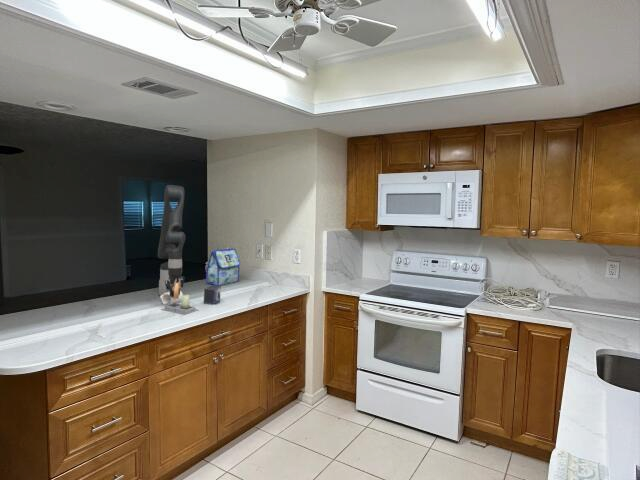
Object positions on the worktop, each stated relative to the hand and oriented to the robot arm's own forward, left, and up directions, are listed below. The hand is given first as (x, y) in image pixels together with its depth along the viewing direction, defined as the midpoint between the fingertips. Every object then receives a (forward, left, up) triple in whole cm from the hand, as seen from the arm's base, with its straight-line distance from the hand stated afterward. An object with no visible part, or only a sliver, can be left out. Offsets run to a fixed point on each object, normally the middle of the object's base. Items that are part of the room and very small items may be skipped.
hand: (174, 295), depth 230 cm
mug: (-13, +9, -9) cm, 18 cm away
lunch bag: (-23, +73, -9) cm, 77 cm away
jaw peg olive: (+8, 0, -8) cm, 11 cm away
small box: (+8, +23, -9) cm, 26 cm away
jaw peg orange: (0, 0, -1) cm, 1 cm away
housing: (+4, 0, -9) cm, 10 cm away
